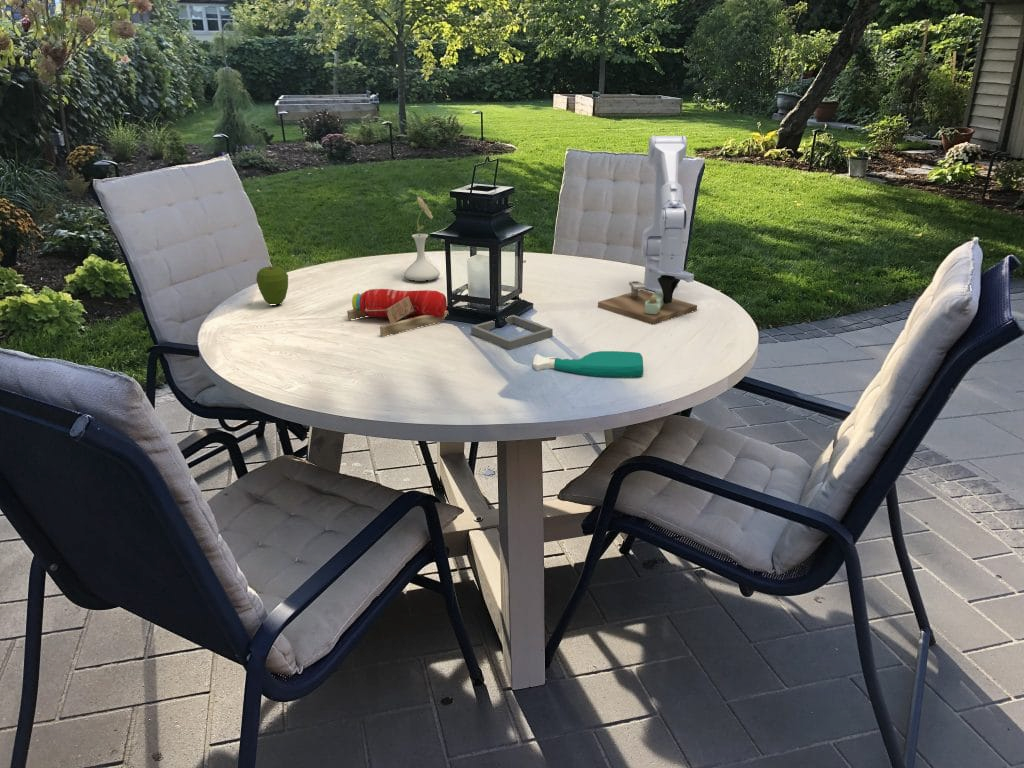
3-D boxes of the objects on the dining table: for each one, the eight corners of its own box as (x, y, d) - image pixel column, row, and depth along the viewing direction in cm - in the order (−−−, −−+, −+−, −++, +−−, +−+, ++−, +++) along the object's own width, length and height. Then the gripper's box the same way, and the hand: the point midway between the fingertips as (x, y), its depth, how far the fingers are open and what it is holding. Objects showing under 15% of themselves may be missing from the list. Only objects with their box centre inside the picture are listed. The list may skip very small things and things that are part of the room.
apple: (267, 311, 213) (262, 270, 208) (254, 305, 219) (249, 265, 214) (296, 305, 218) (292, 265, 214) (283, 298, 224) (278, 259, 219)
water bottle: (436, 304, 195) (341, 300, 199) (439, 332, 199) (346, 328, 203) (447, 283, 205) (356, 280, 209) (449, 310, 209) (361, 307, 213)
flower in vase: (438, 284, 237) (434, 201, 227) (401, 284, 237) (396, 201, 228) (442, 272, 249) (439, 194, 239) (407, 272, 249) (402, 194, 240)
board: (641, 294, 226) (642, 275, 223) (696, 310, 211) (698, 290, 209) (597, 307, 215) (598, 287, 213) (653, 324, 201) (655, 303, 199)
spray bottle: (643, 380, 168) (530, 377, 171) (642, 362, 178) (535, 359, 181) (643, 368, 167) (530, 365, 170) (642, 350, 177) (535, 347, 180)
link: (658, 314, 203) (658, 305, 202) (643, 313, 204) (643, 303, 203) (668, 299, 215) (669, 290, 214) (654, 297, 217) (655, 289, 216)
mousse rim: (513, 322, 203) (513, 314, 203) (552, 336, 193) (552, 329, 192) (471, 333, 195) (471, 326, 194) (509, 349, 185) (509, 341, 184)
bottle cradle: (411, 304, 218) (410, 296, 217) (448, 320, 205) (448, 311, 204) (348, 319, 206) (347, 310, 205) (383, 337, 193) (382, 327, 192)
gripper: (639, 251, 208) (637, 299, 213) (683, 260, 198) (679, 311, 203) (657, 247, 212) (653, 295, 217) (700, 256, 202) (696, 306, 207)
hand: (667, 302), depth 210 cm, fingers closed, pressing on link
